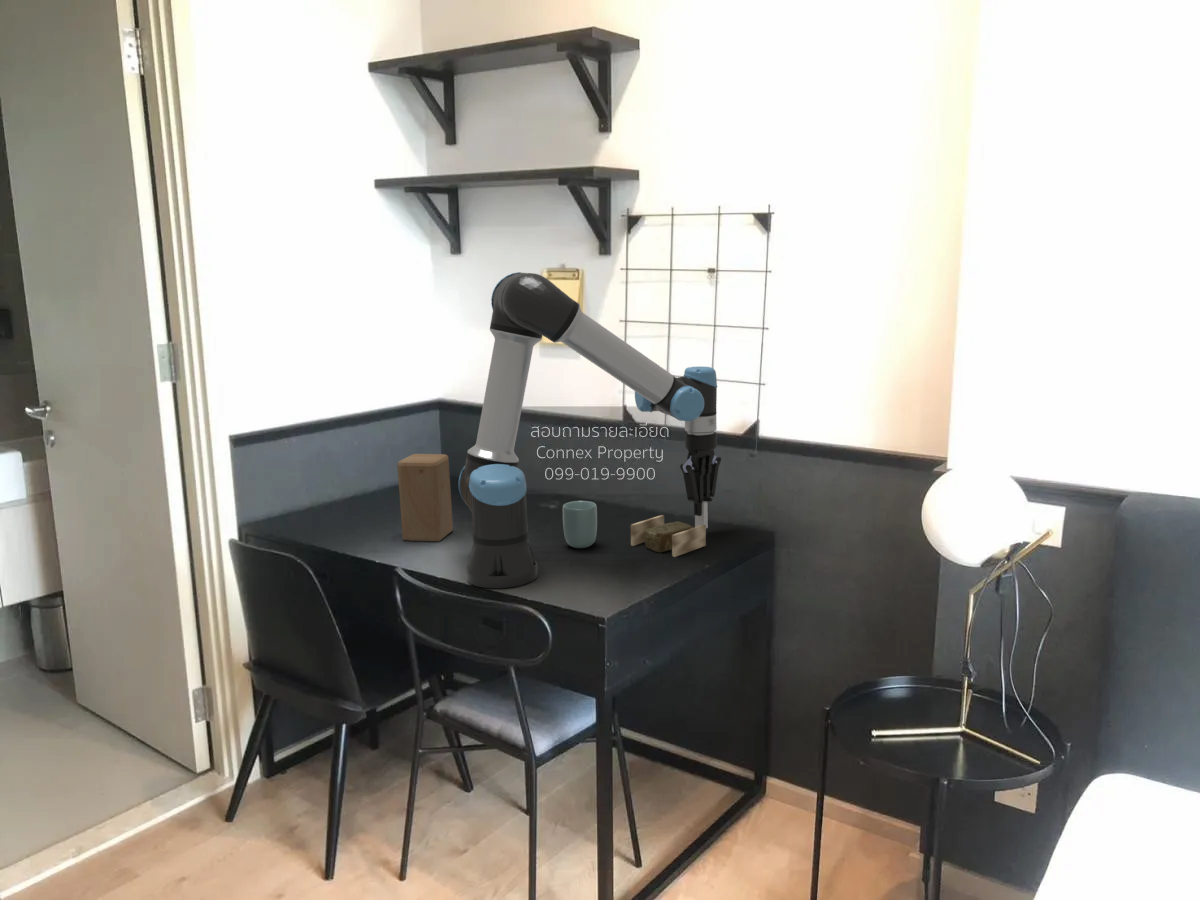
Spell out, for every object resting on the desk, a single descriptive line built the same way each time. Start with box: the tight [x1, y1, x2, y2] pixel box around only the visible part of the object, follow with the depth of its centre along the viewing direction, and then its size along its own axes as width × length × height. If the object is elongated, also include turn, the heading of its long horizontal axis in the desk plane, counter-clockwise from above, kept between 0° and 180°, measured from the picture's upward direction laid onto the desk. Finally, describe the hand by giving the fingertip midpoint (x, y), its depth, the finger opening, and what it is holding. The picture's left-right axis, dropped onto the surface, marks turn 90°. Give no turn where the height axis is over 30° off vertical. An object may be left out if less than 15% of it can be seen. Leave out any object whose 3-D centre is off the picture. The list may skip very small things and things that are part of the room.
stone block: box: [644, 520, 694, 554], centre depth 214 cm, size 6×12×5 cm, turn 127°
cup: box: [562, 500, 598, 549], centre depth 215 cm, size 8×8×10 cm
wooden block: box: [396, 453, 454, 543], centre depth 226 cm, size 10×10×20 cm
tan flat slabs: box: [630, 514, 707, 558], centre depth 214 cm, size 11×14×5 cm
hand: (701, 527), depth 223 cm, fingers closed
